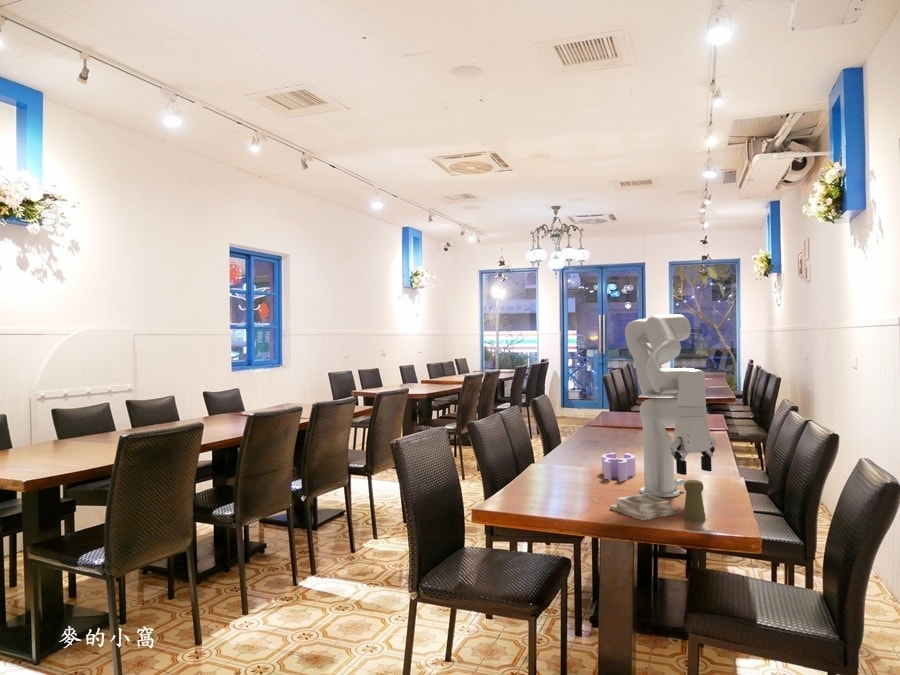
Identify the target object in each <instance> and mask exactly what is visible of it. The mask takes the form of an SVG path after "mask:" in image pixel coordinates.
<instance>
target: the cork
mask: <svg viewBox="0 0 900 675" xmlns="http://www.w3.org/2000/svg"><path fill="white" fill-rule="evenodd" d="M683 488H684V490H685V501H684V509H683V517H682V518H683V520H685V521H689V522H694V521H696V522H705V521H706V520H707V519H706V513H705V505H704V500H703V493H702V492H703V490H704V484H703V482H702V481H701V480H698V479H687V480H685V483H684V485H683ZM696 522H695V523H696Z"/></svg>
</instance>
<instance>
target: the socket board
mask: <svg viewBox="0 0 900 675" xmlns="http://www.w3.org/2000/svg"><path fill="white" fill-rule="evenodd" d="M671 505H672V504H671V501H670V500H667V499H664V498H662V497H654V496H651V495H647V494H642V493H639V494H635V495H629V496H623V497H617V498H616V503H615V504H610V505H609V510H610V509H612V510H611V511H613V510H615V511H614V512H616V511H618V512H617V513H619V512H621V513H620V514H622V513H623V514H622V515H625V514H626V515H625V516H628V515H629V516H628V517H630V516H632V517H631V518H633V517H635V518H634V519H636V518H638V519H637V520H639V519H640V520H639V521H642V520H643V521H647V519H648V520H653V519H658V517H659V518H662V517H663V516H664V517H668V516H669V517H670V516H675V515H679V509H677V508H675V507H672V506H671ZM664 517H663V518H664ZM652 518H653V519H652Z"/></svg>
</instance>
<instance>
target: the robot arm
mask: <svg viewBox="0 0 900 675" xmlns="http://www.w3.org/2000/svg"><path fill="white" fill-rule="evenodd" d="M691 329H692V326H691V324H690V321H689V319H688V318H687V317H686V316H684V315H683V314H657V315H652V316H650V317H648V318H640V319H635V320H631V321H629V322H628V323H627V324H626V326H625V330H624V333H625V334H624V335H625V341H626V342H625V343H626V345H627V348H628V351H629V353H630V354H631V357H632V359H633V361H634V365H635V370H636V376H637V380H638V386H639V389H640V392H641V394H642V395H643V396H644V397H647V398H649V399H646V400H644V401H642V402H641V404H640V406H639V415H640V421H641V425H642V437H643V440H642V441H643V464H644V465H643V467H644V468H643V469H644V473H643V474H644V486H642V487H640V488H639V492H640V494H647V495H651V496H654V497H657V498H672V497H673V498H674V497H678V496H679V495H680V492H681V491H680V489H678V488H677V487H678V486H684V483H685V482H686V480H684V479H683V478H681V479H680V478H679V479H677V478H675V468H676V474H677V475H682V476H685V475H687V473H688V472H687V471H688V470H687V460H686V457H688V454H697V453H701V456H700V465H701V467H700V469H701V471H704V472H705V471H706V472H712V458H713V457H714V453H715V450H716V449H715V448H716V445H717V440H716V439H713V438H712V437H711V430H710V426H709V424H710V423H709V420H708V416H707V410H708V408H707V403H706V402H707V401H706V400H707V399H706V377H705V376H706V375H705V372H704V371H703V370H702V369H697V368H696V369H695V368H693V367H681V368H680V367H677V368H676V367H674V368H672V367H671V368H663V366H662V365H665V364H666V363H669V362H671V361H672V360H674V359H676V358H677V357H678V356H679V354H680V353H681V350H682V345H681V342H682V341H686V340H687V339H688V338H689V337H690V334H691ZM648 344H649V345H650V346H649V345H648ZM672 427H673V428H674V433H673V436H674V437H672V435H670V433H669V432H668V431H667V430H666V428H672ZM675 461H676V462H675ZM675 465H676V466H675Z"/></svg>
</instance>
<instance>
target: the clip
mask: <svg viewBox="0 0 900 675" xmlns="http://www.w3.org/2000/svg"><path fill="white" fill-rule="evenodd" d="M616 456H617V455H616V453H615V452H609V453H604V454H602V455H601V474H602V475H603V474H604V475H603V476H604V477H603V478H605V479H608V480H611V479H612V478H617V480H619V481H618V482H623V481H622V480H626V481H628V480H627V479H628V478H631V477H630V476H632V477H635V476H636V475H637V473H636V456H635V455H634V454H632V453H630V452H627V453H624V454H623V458H617V457H616ZM605 479H604V480H605ZM608 480H607V481H608ZM611 481H612V480H611Z"/></svg>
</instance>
